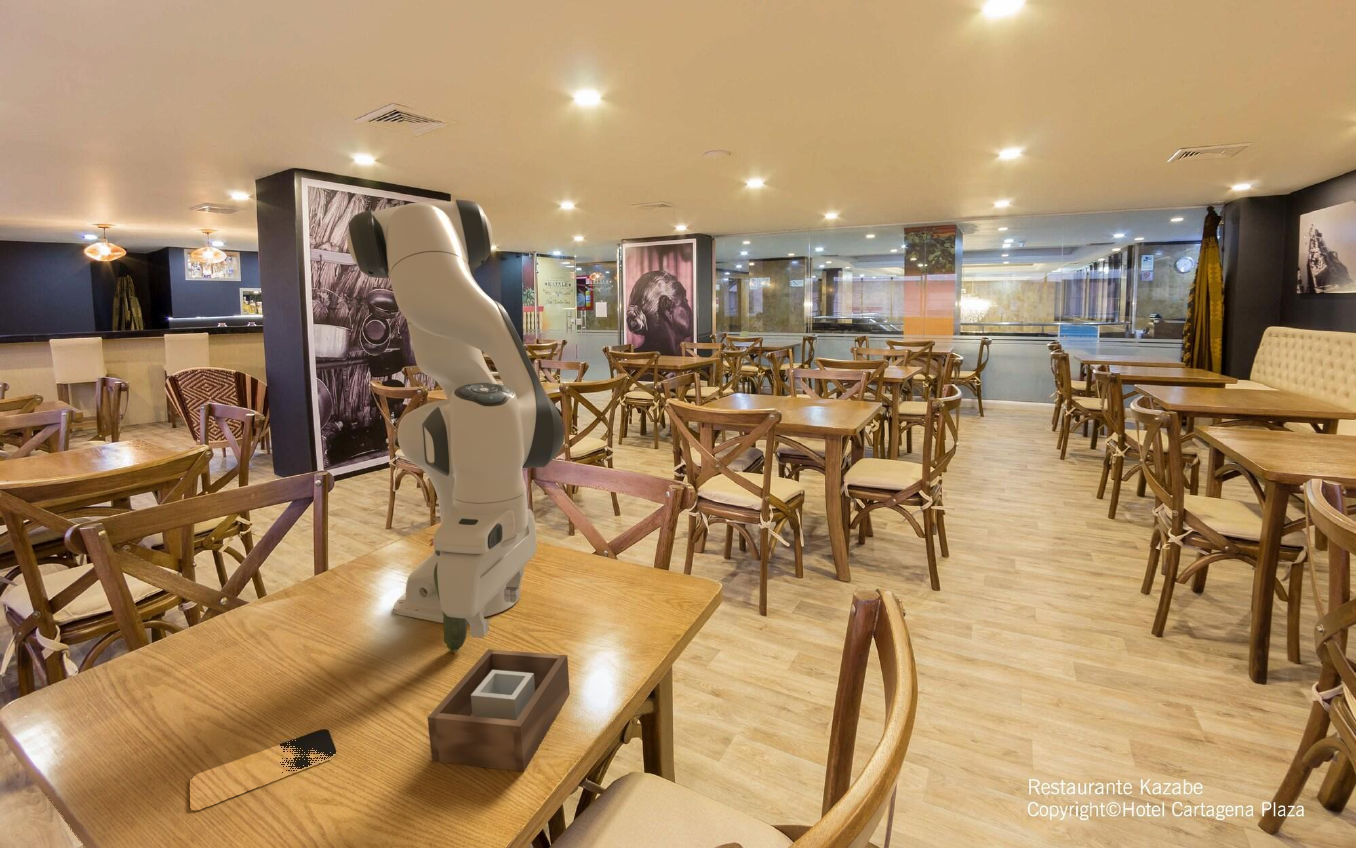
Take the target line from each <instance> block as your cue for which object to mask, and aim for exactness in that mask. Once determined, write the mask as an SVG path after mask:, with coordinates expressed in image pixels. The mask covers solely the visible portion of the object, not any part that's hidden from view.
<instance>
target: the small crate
mask: <svg viewBox="0 0 1356 848" xmlns="http://www.w3.org/2000/svg"><path fill="white" fill-rule="evenodd" d="M534 693H535V683H534V673H525V672H514V671H502V670H492V671H491V672H490V673H489V674H488V675H487V677H486V678H485V679H484V680H483V681H482V683H481V684H480V685H479V686H478V687H477V688H476V690H475V691H474V692H473V693H472V694H471V704H472V714H473V716H475V717H486V718H496V719H507V720H517V718H518V717H519V715H520V714H521V712H522V711H523V710H524V708H525V707H526V705H527V704H528V702H529V701H530V699H531V698H532V696H533V695H534Z"/></svg>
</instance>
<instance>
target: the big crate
mask: <svg viewBox="0 0 1356 848" xmlns="http://www.w3.org/2000/svg"><path fill="white" fill-rule="evenodd" d="M568 661H569V660H568V654H557V653H556V654H555V653H543V652H542V653H541V652H530V651H529V652H527V651H516V650H514V651H513V650H504V649H502V650H501V649H489V648H488V649H487V650H486V651H485V652H484V653H483V655H481V657H480V658H479V659H478V660H477V661H476V662H475V664H474V665H472V667H471V668H470V669H469V670H468V671H467V672H466V674H464V676H463V677H462V678H461V679H460V680H459V681H458V682H457V684H456V685H454V687H453V688H452V689H451V691H450V692H449V693H448V694H447V695H446V696H445V697H444V698H443V699H442V701H441V702H440V703H438V705H437V706H436V707H435V708H434V709H433V711H432V712H430V714H429V715H428V716H427V718H426V719H427V725H428V735H429V745H430V752H431V753H430V755H431V762H433V763H444V764H452V765H460V766H462V765H463V766H471V767H480V768H489V769H495V770H496V769H498V770H508V771H514V772H525V771H526V769H527V768H528V766H529V764H530V762H532V759H533V757H534V755H535V754H536V752H537V751H538V748H539V747H540V746H541V744H542V742H543V740H544V738H545V737H546V735H547V733H548V732H549V730H550V728H551V726H552V725H553V723H554V721H555V720H556V718H557V716H558V715H559V713H560V711H561V710H562V708H563V706H564V704H565V703H566V702H567V699H568V698H569V696H570V676H569V675H570V673H569V662H568ZM492 670H502V671H514V672H525V673H534V683H535V693H534V695H533V696H532V698H531V699H530V701H529V702H528V704H527V705H526V707H525V708H524V710H523V711H522V712H521V714H520V715H519V717H518V718H517V720H507V719H496V718H486V717H475V716H473V714H472V704H471V694H472V693H473V692H474V691H475V690H476V688H477V687H478V686H479V685H480V684H481V683H482V681H483V680H484V679H485V678H486V677H487V675H488V674H489V673H490V672H491V671H492Z"/></svg>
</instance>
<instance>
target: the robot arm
mask: <svg viewBox="0 0 1356 848" xmlns="http://www.w3.org/2000/svg"><path fill="white" fill-rule="evenodd" d="M493 235H494V234H493V228H492V225H491V222H490V220H489V218H488V216H487V214H486V213H485V212H484V209H483V207H482V206H481V205H480V204H479V203H477V202H476V201H472V200H468V199H467V200H466V199H456V200H455V201H449V200H448V201H443V200H442V201H438V200H437V201H435V200H434V201H417V202H411V203H407V204H402V205H398V206H391V207H386V208H382V209H378V210H375V211H374V210H373V209H369V210H365V211H362V212H360V213H357V214H355V215H353V217H351V219H350V220H349V222H348V229H347V235H346V243H347V244H346V245H347V249H348V251H349V253H350V257H351V259H352V261H353V262H354V263H355V264H356V266H358V268H359V270H360V272H362V273H363V274H365V276H368V277H370V278H375V279H390V286H391V289H392V293H393V296H394V299H395V302H396V304H397V305H396V306H397V307H398V309H399V311H400V313H401V314H402V316H403V317H404V318H405V319H406V323H407V328H408V332H409V337H410V341H411V346H412V349H413V353H414V359H415V363H416V365H417V368H418V369H419V371H420V372H422V373H423V374H424V375H426V376H428V377H429V378H432V379H433V380H434V381H436V383H437V384H438V385H439V386H440V388H441V390H442V391H443V393H444V395H445V397H446V399H443V400H438V401H437V400H436V401H432V402H428V403H425V404H423V405H421V406H419V407H417V408H415V409H413V410H412V411H409V412H408V413H406V414H405V415H404V416H403V417H402V418H401V420H400V421H399V424H398V428H397V434H396V435H397V442H398V443H397V444H398V446H399V448H400V451H401V453H402V454H403V455H404V457H405V459H407V460H408V462H410V463H411V464H413V465H414V466H417V467H419V468H420V469H421V470H422V471H423V472H424V473H425V474H426V476H427V477H428V478H429V480H430V482H431V484H432V486H433V488H434V490H435V493H436V496H437V501H438V509H439V516H440V525H439V526H438V528H437V530H436V531H434V533H433V537H432V538H431V539H430V540H429V543H430V544H429V547H432V546H433V549H434V552H432V553H431V554H430V555H429V556H428V557H426V558H424V560H423V561H422V562H421V563H420V564H418V566H416V567H414V569H413V570H412V571H411V572H410V573H409V575H408V577H407V581H406V587H405V592H404V593H403V594H402V595H401V596H400V597H399V598H398V599H396V601H395V602H394V604H393V605H394V606H393V614H395V615H399V616H405V617H408V618H409V617H410V618H416V619H420V620H425V621H431V622H435V623H441V624H443V612H444V613H445V615H447V616H448V617H455V618H465V619H466V620H467V624H468V625H469V633H470V634H469V635H470V636H471V638H476V639H484V638H485V636H486V635H487V634H488V633H489V631H490V627H489V626H490V620H489V619H485V617H489V616H492V615H495V614H497V615H498V613H501V612H504V611H506V610H508V609H510V608H511V607H512V606H514V605H515V604H516V603H517V601H518V600H519V599H520V598H521V592H522V591H521V586H522V581H523V577H524V572H525V566H526V565H527V564H528V563H529V562H530V561H531V560H532V559H533V558H534V557H535V556H536V553H537V550H538V549H537V548H538V541H537V539H538V538H537V530H536V522H535V520H536V519H535V517H534V513H533V510H532V509H530V508H529V507H528V506H529V505H528V495H527V484H526V482H525V479H524V474H523V469H534V468H537V469H538V468H545V467H546V466H548V465H549V464H550V463H551V462H552V461H553V460H554V458H556V456H557V455H558V454H559V452H560V451H561V450H562V447H563V446H564V443H565V428H564V423H563V419H562V416H561V414H560V412H559V410H558V408H557V406H556V405H555V404H554V402H553V401H552V399H551V398H550V396H549V395H548V393H547V392H546V390H545V388H544V386H543V384H542V381H540V380H541V379H540V378H539V376H538V373H537V372H536V370H535V368H534V365H533V364H532V361H531V359H530V356H529V355H528V352H527V350H526V348H525V346H524V344H523V341H522V340H521V337H520V335H519V333H518V331H517V330H516V327H515V325H514V324H513V321H512V320H511V319H512V318H510V316H509V314H508V312H507V310H506V309H505V307H504V306H503V305H502V304H501V303H500V302H498V301H496V300H495V299H493V298H491V297H490V296H489V295H488V294H487V293H486V292H484V290H483V289H482V288H481V286H480V285H479V284H478V283H477V281H476V280H475V278H474V276H473V275H474V274H475V273H476V272H475V271H476V270H475V269H476V268H479V267H480V266H481V265H483V264H484V263H485V262H486V261H487V259H488V257H489V256H490V255H491V253H492V246H493V239H494V237H493ZM483 353H484V354H486V355H487V356H488V357H489V358H490V360H491V361H492V362H493V364H494V367H495V369H496V372H497V373H498V376H499V378H500V380H501V383H502V384H500V383H498V382H497V380H496V378H495V377H494V376H493V374H492V372H491V370H490V368H489V367H488V365H487V363H486V360H485V358H484V355H483ZM440 551H442V552H441V554H440ZM437 562H438V564H437ZM436 564H437V577H438V590H439V598H438V595H437V591H436V587H435V582H434V568H435V565H436ZM439 599H440V601H439Z"/></svg>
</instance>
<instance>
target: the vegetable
mask: <svg viewBox="0 0 1356 848" xmlns="http://www.w3.org/2000/svg"><path fill="white" fill-rule="evenodd" d="M441 552H442V551H440V554H441ZM437 564H438V562H437ZM437 564H436V565H435V568H434V582H435V587H436V591H437V595H438V598H439V590H438V577H437ZM439 601H440V599H439ZM442 625H443V640H444V643H445V645H446V649H448V652H449V653H453V654H454V653H455V654H456V653H457V652H458V651H459V650H460V648H462V647H463V645H464V643H465V641H466V639H467V633H468V622H467V620H466V619H465V618H455V617H448V616H447V615H445V613H444V612H443V623H442Z"/></svg>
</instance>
